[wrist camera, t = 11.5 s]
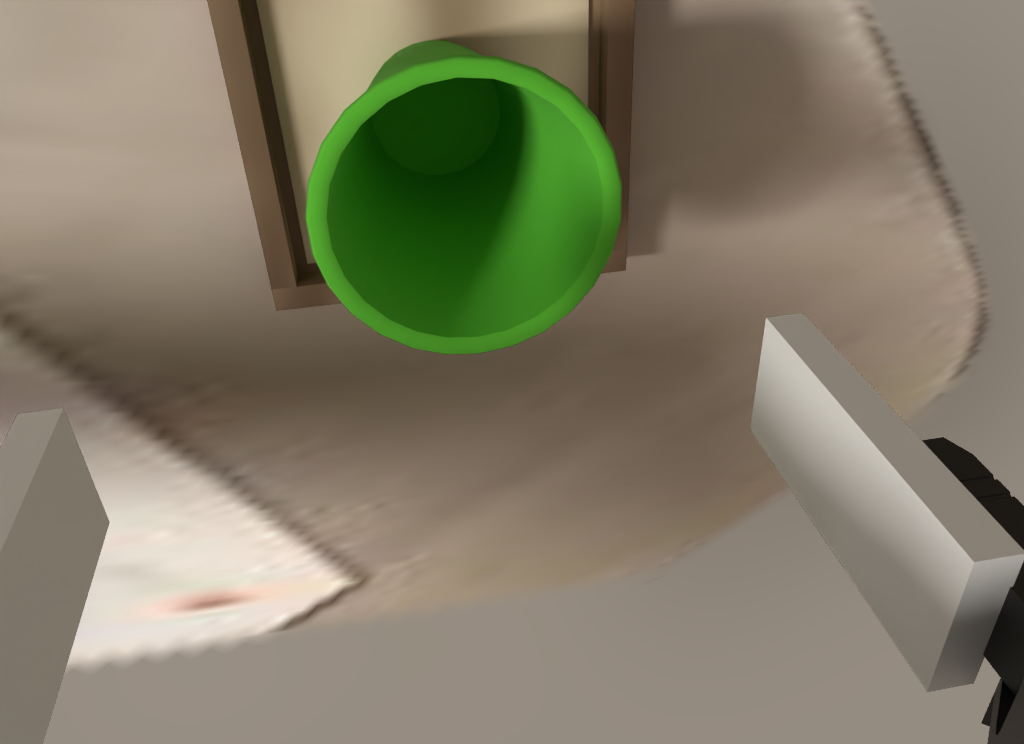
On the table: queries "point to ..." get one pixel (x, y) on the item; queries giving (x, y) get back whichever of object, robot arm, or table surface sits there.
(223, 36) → the tray
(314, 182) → the cup
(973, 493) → the robot arm
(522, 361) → the table surface
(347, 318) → the table surface
